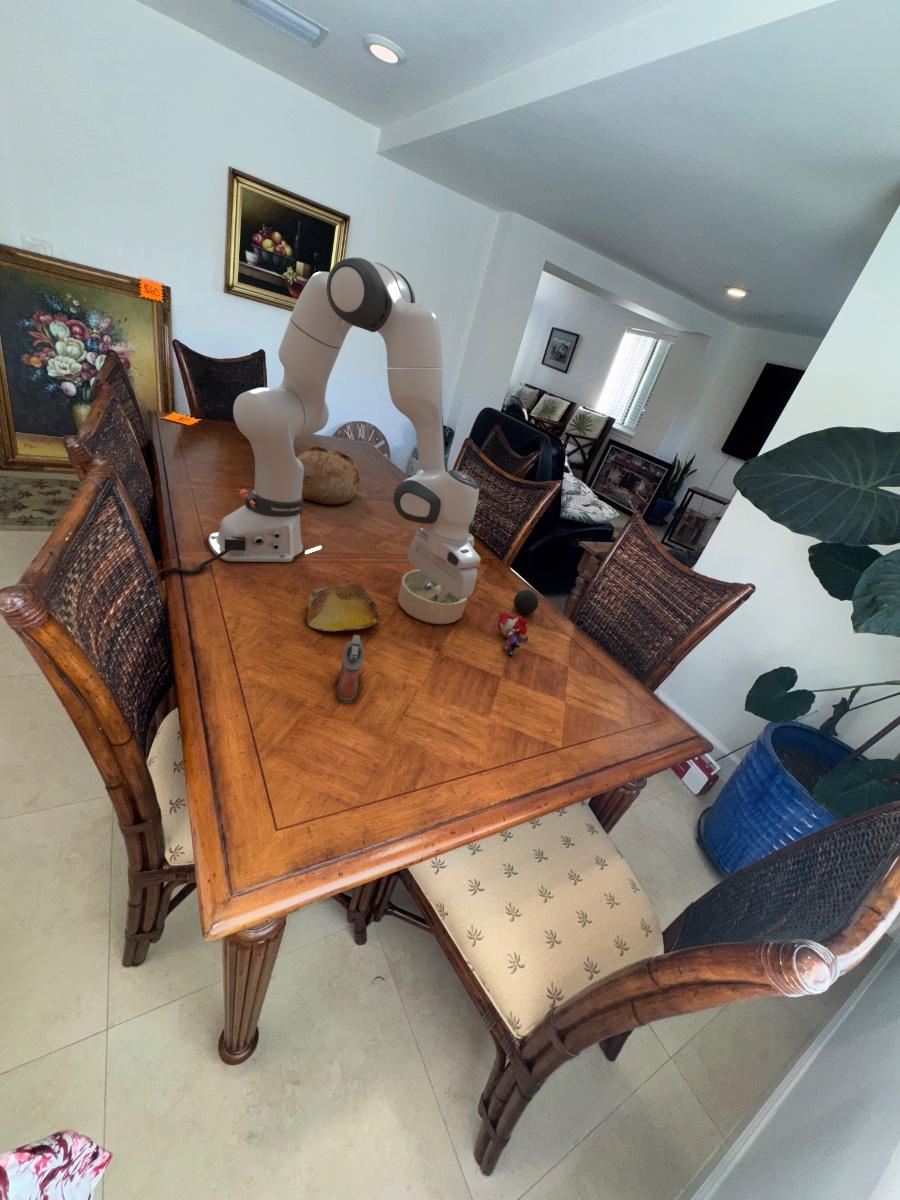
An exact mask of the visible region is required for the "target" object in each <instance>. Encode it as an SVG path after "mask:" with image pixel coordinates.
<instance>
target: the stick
mask: <svg viewBox="0 0 900 1200" xmlns="http://www.w3.org/2000/svg"><path fill="white" fill-rule="evenodd" d="M440 588H441V586H440V585H438V586H435V587H433V588H431V589H429V590H427V591H425V592H422V593H420V594H418V596H420V597H422V598H425V599H427V600H430V601H435V602H438V601H437V600H436V599H435V594H436V593H439V592H441V591H442V590H441V589H440ZM449 597H450V592H448V593H447V594H446V595H445V597H444V600H445V599H447V598H449Z"/></svg>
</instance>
